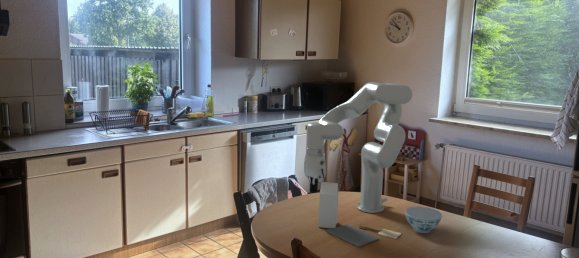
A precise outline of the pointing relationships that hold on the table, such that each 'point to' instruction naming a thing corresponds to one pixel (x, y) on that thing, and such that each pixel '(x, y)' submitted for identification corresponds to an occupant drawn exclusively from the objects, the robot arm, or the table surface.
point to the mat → (352, 235)
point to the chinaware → (423, 218)
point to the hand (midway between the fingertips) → (313, 191)
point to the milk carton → (328, 205)
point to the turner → (382, 232)
